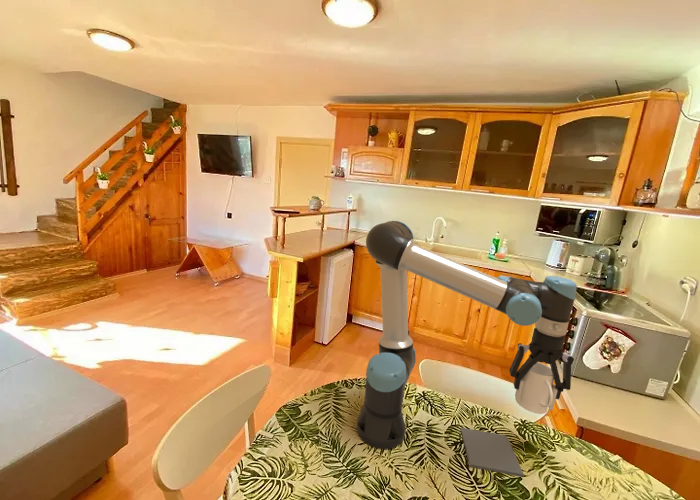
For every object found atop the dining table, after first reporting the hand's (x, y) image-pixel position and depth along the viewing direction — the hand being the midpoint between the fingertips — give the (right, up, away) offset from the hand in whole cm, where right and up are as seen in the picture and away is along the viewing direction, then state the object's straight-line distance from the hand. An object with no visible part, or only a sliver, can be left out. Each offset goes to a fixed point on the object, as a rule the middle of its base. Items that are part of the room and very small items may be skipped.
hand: (533, 402), depth 91 cm
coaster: (-13, -15, +1) cm, 19 cm away
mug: (0, -2, +1) cm, 2 cm away
